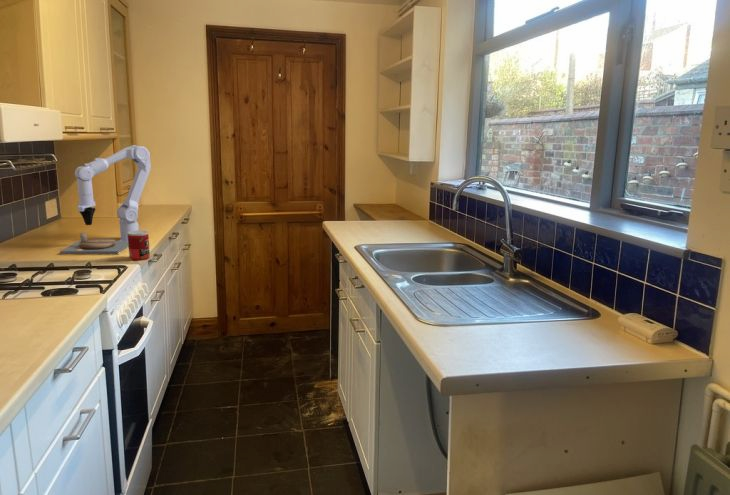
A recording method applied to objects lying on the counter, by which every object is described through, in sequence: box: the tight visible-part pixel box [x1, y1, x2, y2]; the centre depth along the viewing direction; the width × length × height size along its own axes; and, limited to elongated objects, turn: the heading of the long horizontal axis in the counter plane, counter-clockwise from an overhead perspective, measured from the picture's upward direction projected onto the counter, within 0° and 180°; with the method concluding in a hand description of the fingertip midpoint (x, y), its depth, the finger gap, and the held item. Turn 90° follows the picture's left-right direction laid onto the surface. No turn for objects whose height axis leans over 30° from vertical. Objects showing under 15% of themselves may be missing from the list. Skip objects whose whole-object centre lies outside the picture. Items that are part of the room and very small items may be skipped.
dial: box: [79, 232, 116, 249], centre depth 239 cm, size 14×14×5 cm
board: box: [60, 240, 129, 255], centre depth 239 cm, size 19×23×2 cm
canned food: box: [128, 229, 151, 262], centre depth 226 cm, size 8×8×11 cm
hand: (88, 224), depth 243 cm, fingers closed
